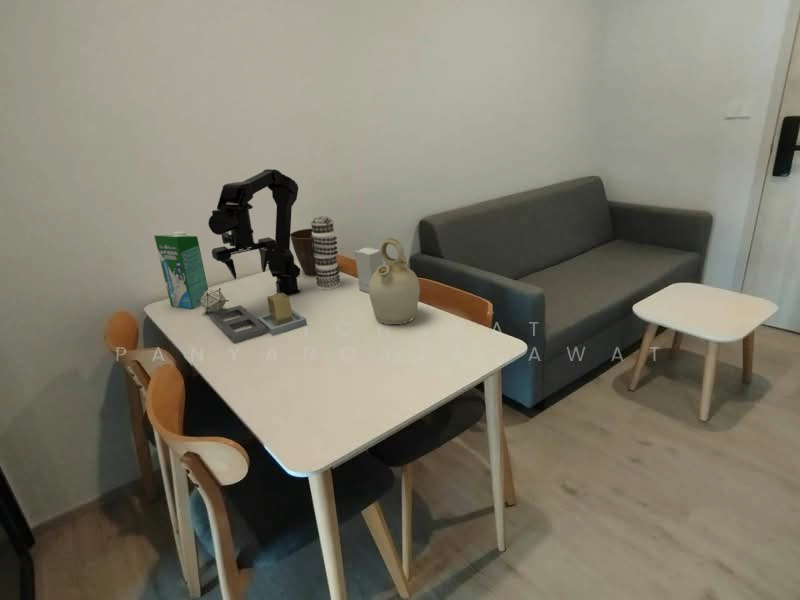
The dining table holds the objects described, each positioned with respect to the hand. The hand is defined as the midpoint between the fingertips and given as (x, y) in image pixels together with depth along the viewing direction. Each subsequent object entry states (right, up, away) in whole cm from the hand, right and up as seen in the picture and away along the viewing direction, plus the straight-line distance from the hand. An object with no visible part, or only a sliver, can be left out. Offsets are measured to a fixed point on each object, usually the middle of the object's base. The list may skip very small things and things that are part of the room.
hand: (249, 275), depth 153 cm
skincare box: (+37, -5, +19) cm, 42 cm away
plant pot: (+13, +3, +40) cm, 42 cm away
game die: (-13, -12, +7) cm, 19 cm away
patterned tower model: (+21, -3, +26) cm, 33 cm away
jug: (+46, -13, -3) cm, 48 cm away
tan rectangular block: (+11, -15, -4) cm, 19 cm away
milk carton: (-25, -9, +16) cm, 31 cm away
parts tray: (+11, -15, -4) cm, 19 cm away
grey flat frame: (-2, -16, -4) cm, 16 cm away
